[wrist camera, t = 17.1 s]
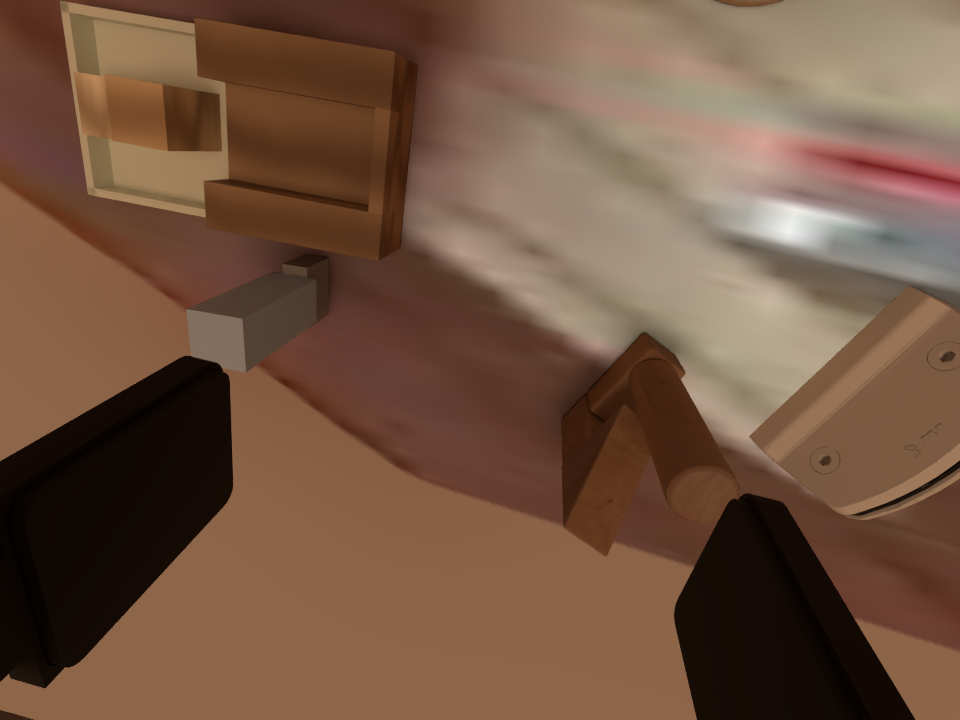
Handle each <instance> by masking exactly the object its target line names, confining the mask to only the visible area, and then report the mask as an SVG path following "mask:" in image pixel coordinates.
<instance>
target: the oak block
mask: <svg viewBox="0 0 960 720" xmlns="http://www.w3.org/2000/svg"><path fill="white" fill-rule="evenodd" d="M104 77H105V85H106V93H107V101H108V109H109V117H110V125H111V133H112V141H116V142H121V143H126V144H132V145H137V146H143V147H148V148H153V149H159V150H164V151H222V139H221V116H220V94H214V93H208V92H203V91H197V90H191V89H186V88H180V87H175V86H169V85H163V84H157V83H152V82H146V81H140V80H134V79H129V78H123V77H117V76H112V75H106V74H104Z"/></svg>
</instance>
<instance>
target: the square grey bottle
mask: <svg viewBox="0 0 960 720" xmlns="http://www.w3.org/2000/svg"><path fill="white" fill-rule="evenodd" d="M328 266H329V258H326V257H320V256H314V255H308V254H305V255H303V256H300V257H298V258H295V259H293V260H290V261H288V262H286V263H283V264H282V273H276V272H272V273H270V274H267V275H265V276H262V277H260V278H258V279H255V280H253V281H251V282H248V283H246V284H244V285H241V286H239V287H237V288H234V289H232V290H230V291H227V292H225V293H223V294H220V295H218V296H216V297H213V298H211V299H209V300H206V301H204V302H202V303H199V304H197V305H195V306H192V307H190V308H188V309H186V311H187V319H188V328H189V338H190V347H191V356H192V357H196V358H200V359H204V360H208V361H212V362H216V363H218V364H220V365H221V367H222V368H224V369H230V370H236V371H241V372H247V371H249V370H250V369H251V368H253V367H254V366H256V365H257V364H258V363H260V362H261V361H263V360H264V359H265V358H267V357H268V356H270V355H271V354H272V353H274V352H275V351H277V350H278V349H279V348H281V347H282V346H284V345H285V344H286V343H288V342H289V341H290V340H292V339H293V338H295V337H296V336H297V335H299V334H300V333H302V332H303V331H304V330H306V329H308V328H310V327H311V326H313V325H314V324H315V323H317V322H318V321H320V320H321V319H322V318H324V317H325V316H326V315H328Z"/></svg>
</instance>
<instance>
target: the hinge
mask: <svg viewBox="0 0 960 720" xmlns="http://www.w3.org/2000/svg"><path fill="white" fill-rule="evenodd" d="M750 438H751V439H752V440H753V441H754V442H755V443H756V444H757V446H758V447H759V448H760V449H761V450H762V451H763V452H765V453H766V454H767V455H768V456H769V457H770V458H771V459H772V460H773V461H775V462H776V463H777V464H778V465H779V466H781V467H782V468H783V469H784V470H786V471H787V472H788V473H789V474H790V475H792V476H793V477H794V478H795V479H796V480H798V481H799V482H800V483H801V484H803V485H804V486H805V487H806V488H807V489H809V490H810V491H811V492H812V493H813V494H815V495H816V496H817V497H818V498H820V499H821V500H822V501H823V502H824V503H826V504H827V505H828V506H829V507H831V508H832V509H833V510H834V511H836V512H838V513H840V514H843V515H845V516H847V517H849V518H851V519H860V520H868V519H872V518H875V517H879V516H882V515H886V514H889V513H891V512H894V511H897V510H900V509H902V508H905V507H907V506H910V505H912V504H914V503H917V502H919V501H921V500H923V499H925V498H927V497H929V496H931V495H933V494H935V493H937V492H938V491H940V490H942V489H943V488H945V487H947V486H948V485H950V484H952V483H953V482H955V481H956V480H958V479H959V478H960V312H959V311H958V310H956V309H955V308H953V307H952V306H950V305H949V304H947V303H945V302H943V301H941V300H938V299H936V298H934V297H932V296H930V295H928V294H925V293H923V292H921V291H919V290H917V289H915V288H913V287H910V286H908V287H907V288H906V289H905V290H904V291H903V292H902V293H901V294H900V295H899V296H898V297H897V298H896V299H894V300H893V301H892V302H891V303H890V304H889V305H888V306H887V307H886V308H885V309H884V310H883V311H882V312H881V313H880V314H879V315H878V316H876V317H875V318H874V319H873V320H872V321H871V322H870V323H869V324H868V325H867V326H866V327H865V328H864V329H863V330H862V331H861V332H860V333H858V334H857V335H856V336H855V337H854V338H853V339H852V340H851V341H850V342H849V343H848V344H847V345H846V346H845V347H844V348H843V349H842V350H841V351H839V352H838V353H837V354H836V355H835V356H834V357H833V358H832V359H831V360H830V361H829V362H828V363H827V364H826V365H825V366H824V367H823V368H821V369H820V370H819V371H818V372H817V373H816V374H815V375H814V376H813V377H812V378H811V379H810V380H809V381H808V382H807V383H806V384H805V385H803V386H802V387H801V388H800V389H799V390H798V391H797V392H796V393H795V394H794V395H793V396H792V397H791V398H790V399H789V400H788V401H787V402H786V403H784V404H783V405H782V406H781V407H780V408H779V409H778V410H777V411H776V412H775V413H774V414H773V415H772V416H771V417H770V418H769V419H768V420H766V421H765V422H764V423H763V424H762V425H761V426H760V427H759V428H758V429H757V430H756V431H755V432H754V433H753V434H752V435H751V436H750Z"/></svg>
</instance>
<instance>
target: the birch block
mask: <svg viewBox="0 0 960 720" xmlns="http://www.w3.org/2000/svg"><path fill="white" fill-rule="evenodd" d="M74 78H75V85H76V92H77V98H78V105H79V112H80V119H81V126H82V133H83V134H84V135H90V136H95V137H101V138H106V139H112V133H111V125H110V117H109V109H108V101H107V93H106V85H105V77H104V76H98V75H92V74H86V73H81V72H75V71H74Z"/></svg>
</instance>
